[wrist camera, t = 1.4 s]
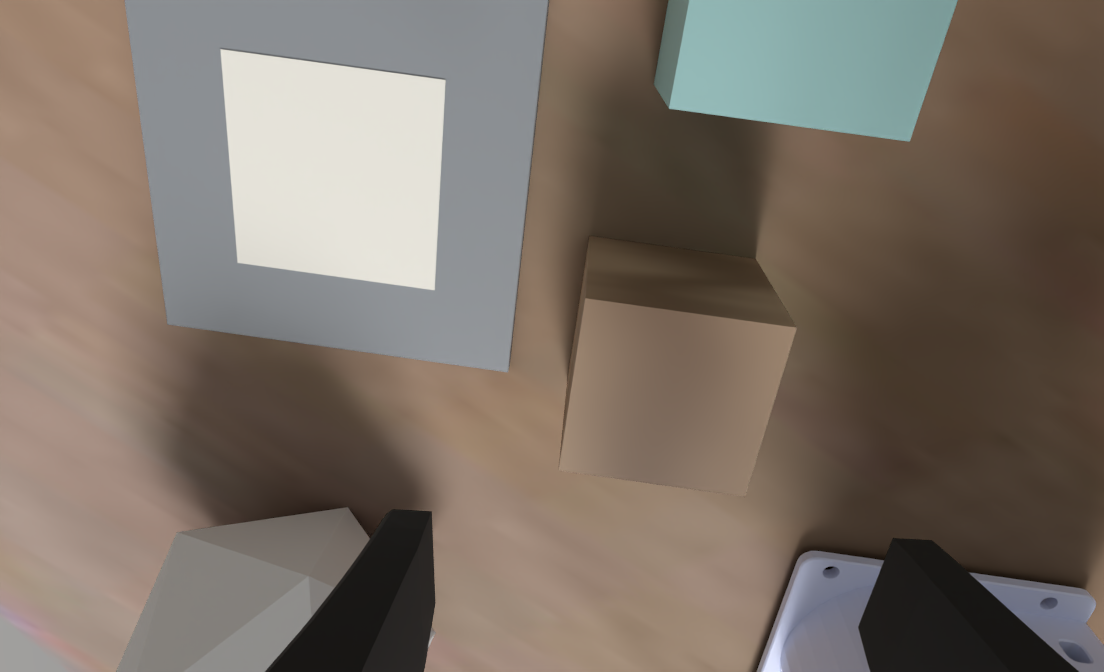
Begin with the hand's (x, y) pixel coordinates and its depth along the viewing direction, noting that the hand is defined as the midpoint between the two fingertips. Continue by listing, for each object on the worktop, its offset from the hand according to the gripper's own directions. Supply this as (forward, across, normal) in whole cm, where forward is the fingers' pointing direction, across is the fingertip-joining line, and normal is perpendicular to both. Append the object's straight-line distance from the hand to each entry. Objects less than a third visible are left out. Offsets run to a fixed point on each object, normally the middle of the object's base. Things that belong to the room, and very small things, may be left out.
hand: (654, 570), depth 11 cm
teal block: (+10, -3, -8) cm, 13 cm away
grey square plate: (+10, +8, -3) cm, 13 cm away
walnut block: (+10, -1, 0) cm, 10 cm away
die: (+10, +9, +11) cm, 17 cm away
